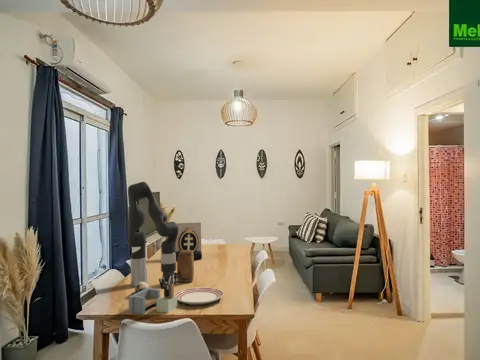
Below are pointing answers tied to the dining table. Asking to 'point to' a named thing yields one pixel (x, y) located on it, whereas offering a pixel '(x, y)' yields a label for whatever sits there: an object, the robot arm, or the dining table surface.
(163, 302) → the green and brown blocks
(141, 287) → the skull
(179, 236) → the decorative plaque
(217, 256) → the dining table surface
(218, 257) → the dining table surface
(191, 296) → the dinner plate
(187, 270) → the block
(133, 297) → the board
